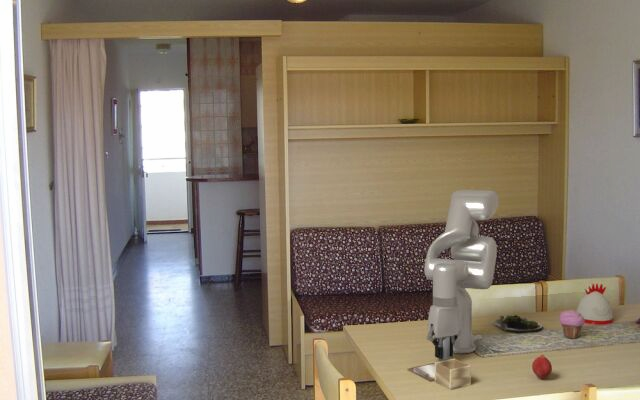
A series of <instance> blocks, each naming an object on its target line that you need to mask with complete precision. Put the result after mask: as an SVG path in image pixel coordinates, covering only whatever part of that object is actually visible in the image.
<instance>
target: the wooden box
mask: <svg viewBox="0 0 640 400" xmlns="http://www.w3.org/2000/svg"><path fill="white" fill-rule="evenodd" d="M434 363H435V362H434ZM434 382H435V383H436V384H439V385H440V386H443V387H444V388H446V389H449V390H450V391H453V390H456V389H461V388H465V387H468V386H469V387H470V386H471V385H472V365H471V364H468V363H465V362H464V361H461V360H459V359H456V358H450V360H445V361H441V362H440V361H436V363H435V381H434Z"/></svg>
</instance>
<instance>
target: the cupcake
mask: <svg viewBox="0 0 640 400" xmlns="http://www.w3.org/2000/svg"><path fill="white" fill-rule="evenodd" d="M558 319H559V321H558V322H559V323H560V325H561V327H562V333H563V336H564V337H565V338H570V339H576V338H578V337H580V336H581V332H582V327H583V326H584V325H585V323H584V322H585V320H584V317H583V316H582V315H581V314H580V313H579V312H577V310H563V311H562V312H561V313H560V314H559V317H558Z"/></svg>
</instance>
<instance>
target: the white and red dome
mask: <svg viewBox="0 0 640 400" xmlns="http://www.w3.org/2000/svg"><path fill="white" fill-rule="evenodd" d="M591 285H592V286H588V291H587V289H585V288H584V291H585V295H584V296H583V297H582V298H581V300H579V302H578V305H577V308H576V311H577V312H579V313H580V314H581V315H582V316H583V317H584V320H585V322H584V324H588V325H597V326H599V325H600V326H603V325H604V326H605V325H610V324H612V323H614V315H613V310H612V307H611V305H610V301H609V300H608V298H607V297H606V296H605V295H604V293H605V291H606V289H607V287H606V286H604V287H603V283H600V285H599V284H598V283H596V284H595V283H592V284H591Z"/></svg>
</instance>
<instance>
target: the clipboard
mask: <svg viewBox="0 0 640 400" xmlns="http://www.w3.org/2000/svg"><path fill="white" fill-rule="evenodd" d="M436 362H437V361H436ZM436 362H431V363H427V364H422V365H417V366H412V367H409V368H407V371H409V372H411V373H412V374H414V375H416V376H418V377H420V378H423V379H424V380H427V381H428V382H430V383H431V382H435V363H436Z"/></svg>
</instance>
